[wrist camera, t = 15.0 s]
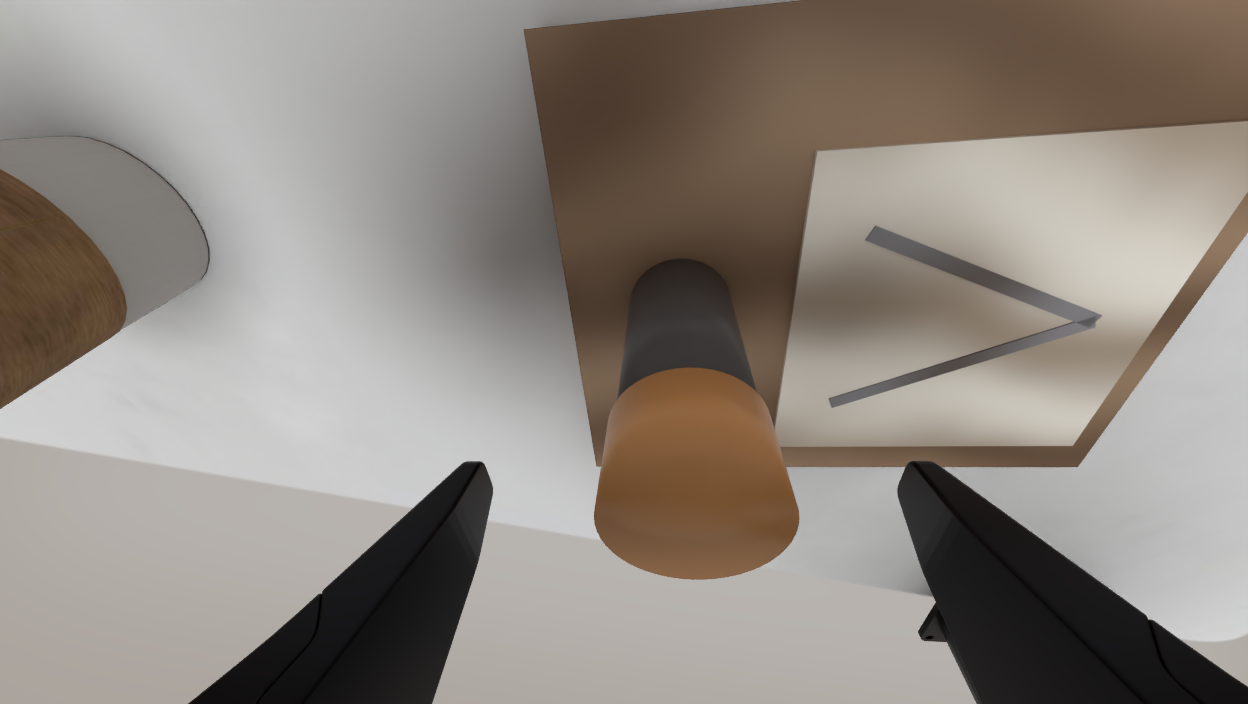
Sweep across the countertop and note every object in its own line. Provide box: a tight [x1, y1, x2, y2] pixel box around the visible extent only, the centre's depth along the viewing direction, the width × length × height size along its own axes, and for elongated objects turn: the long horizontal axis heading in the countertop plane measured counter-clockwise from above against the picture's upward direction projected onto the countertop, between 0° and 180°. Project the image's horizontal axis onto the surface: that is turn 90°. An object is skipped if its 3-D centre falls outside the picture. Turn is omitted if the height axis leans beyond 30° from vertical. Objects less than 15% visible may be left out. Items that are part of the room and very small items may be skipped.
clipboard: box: [524, 0, 1248, 467], centre depth 16 cm, size 17×21×2 cm
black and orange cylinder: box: [594, 259, 799, 579], centre depth 12 cm, size 4×4×9 cm
